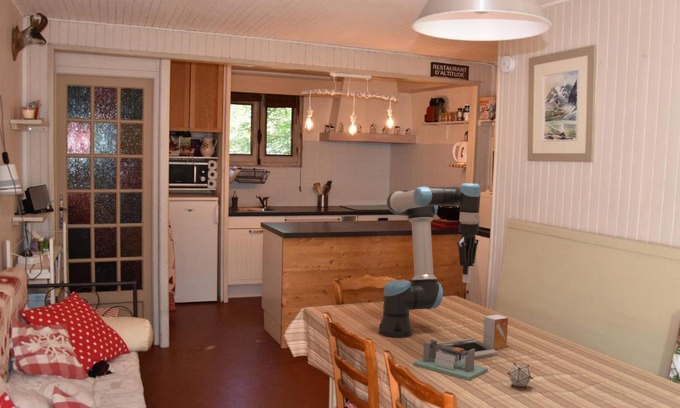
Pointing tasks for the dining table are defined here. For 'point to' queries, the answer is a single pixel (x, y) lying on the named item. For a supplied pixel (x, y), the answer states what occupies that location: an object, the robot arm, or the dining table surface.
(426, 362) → the base board
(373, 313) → the dining table surface
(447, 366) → the heatsink
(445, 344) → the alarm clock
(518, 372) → the game die
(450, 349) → the dark grey bar
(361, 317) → the dining table surface
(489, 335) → the small box
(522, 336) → the dining table surface
